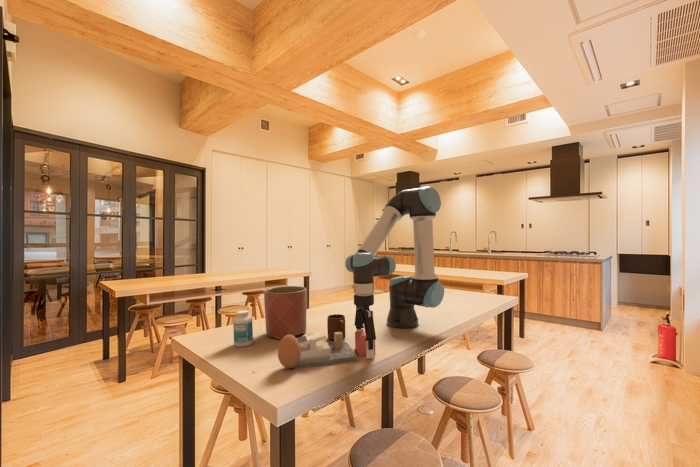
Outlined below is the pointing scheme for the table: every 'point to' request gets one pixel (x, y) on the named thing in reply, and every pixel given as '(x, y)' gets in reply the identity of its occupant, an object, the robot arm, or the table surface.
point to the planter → (285, 311)
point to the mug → (335, 325)
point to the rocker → (306, 339)
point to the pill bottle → (243, 329)
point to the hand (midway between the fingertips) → (364, 351)
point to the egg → (289, 351)
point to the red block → (361, 343)
